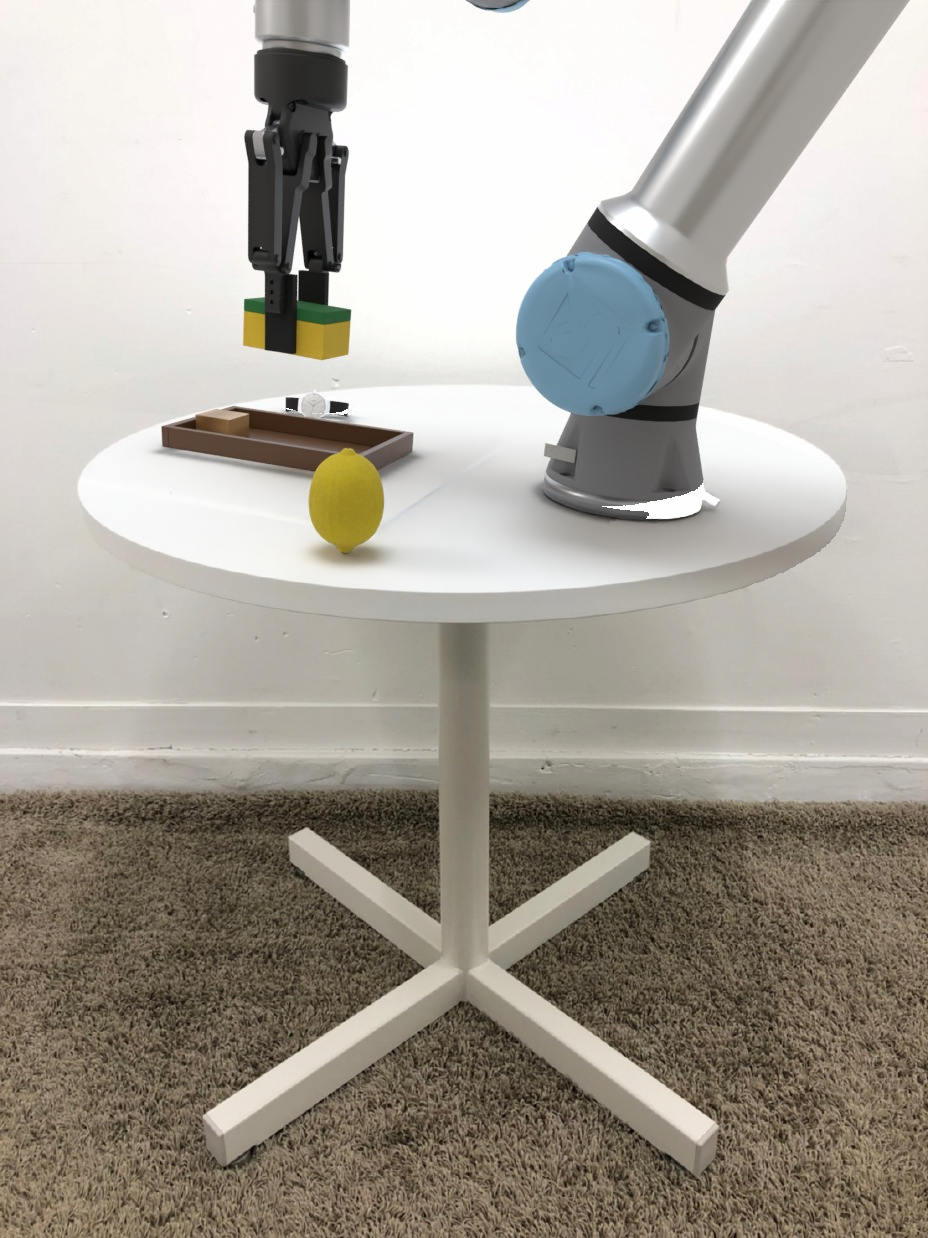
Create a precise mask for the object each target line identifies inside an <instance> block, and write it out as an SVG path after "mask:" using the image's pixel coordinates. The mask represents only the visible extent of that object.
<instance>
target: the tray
mask: <svg viewBox="0 0 928 1238" xmlns="http://www.w3.org/2000/svg"><path fill="white" fill-rule="evenodd" d="M220 409H221V410H227V411H234V412H241V413H247V414H249V437H248V438H246V437H239V436H233V435H227V434H220V433H214V432H208V431H201V430H196V418H195V416H192V417H189V418H186V419H182V420H178V421H174V422H172V423H168V424H165V425H161V447H162V448H168V449H174V450H179V451H180V450H181V451H187V452H193V453H198V454H204V455H205V454H206V455H211V456H216V457H217V456H218V457H223V458H229V459H235V460H242V461H247V462H248V461H249V462H255V463H261V464H266V465H273V466H278V467H285V468H290V469H297V470H303V471H309V472H313V473H315V471H316V469H317V468H318V466H319V465H320V464H321V463H322V462H323V461H324V460H325V459H327V458H328V457H330V456H331V455H334V454H336V453H340V452H341V451H342V450H343V449H344V448H351V449H353V450H354V451H355V453H357V454H359V455H361V456H363V457H365V458H366V459H367V460H369V461H370V462H371V463H372V464H373V465H374V467H375V468H376V470H377V471H378V470H380V469H382V468H385V467H386V466H388V465H390V464H392V463H393V462H396V461H398V460H399V459H401V458H403V457H405V456H407V455H409V454H411V453H412V452H413V447H414V432H413V431H406V430H401V429H400V430H399V429H393V428H387V427H380V426H374V425H373V426H372V425H366V424H358V423H352V422H346V421H338V420H332V419H325V418H312V417H305V416H304V415H299V414H291V413H286V412H277V411H272V410H264V409H258V408H251V407H244V406H237V405H231V406H228V407H224V408H220Z"/></svg>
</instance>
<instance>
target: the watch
mask: <svg viewBox="0 0 928 1238" xmlns="http://www.w3.org/2000/svg"><path fill="white" fill-rule="evenodd" d="M349 407H350V403H349V402H343V401H336V400H330V399H327V398H326V397H325V396H324V395H322V394H321V393H320V392H317V389H313V392H312V391H311V392H308V393H306V394H305V395H304V396H302V397H301V396H300V397H293V396H291V397H290V396H288V397H286V396H285V412H292V411H291V410H287V409H286V408H289V409H293V410H296V411H295V412H298V411H301V412H300V413H301V414H302V416H305V417H312V418H319V419H323V418H324V417H325V416H330V414H325V413H336V412H342V411H344V410H346V409H348V410H349ZM302 412H303V413H302ZM312 413H318V414H312ZM320 413H322V414H320ZM323 414H324V415H323ZM348 415H349V412H348V413H347V414H344V415H339V416H340V417H345V418H348Z"/></svg>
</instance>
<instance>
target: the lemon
mask: <svg viewBox="0 0 928 1238" xmlns="http://www.w3.org/2000/svg"><path fill="white" fill-rule="evenodd" d="M308 492H309V493H308V512H309V517H310V521H311V523H312V527H314V529H315V531H316V533H317V534H318V535H319V537H321V538H322V539H323V540H324V541H326V542H327V543H329V544H331V545H333V546H335V547H336V548H337V549H338V550H339V552H341V553H343V554H348V553H350V552H351V551H352V550H353V549H354V548H356V547H357V546H359V545H362V544H364V543H366V542H368V541H369V540H370V539H371V538H372V537H373V536H375V534H376V533H377V530H378V529H379V527H380V524H381V522H382V520H383V515H384V510H385V492H384V486H383V482H382V478H381V476H380V473H379V471H378V470H376V468H375V467H374V465H373V464H372V463H371V462H370V461H369V460H367V459H366V458H365V457H363V456H361V455H359V454H357V453H355V451H354V450H353V449H351V448H344V449H343V450H342V451H341V452H340V453H336V454H334V455H331V456H330V457H328V458H327V459H325V460H324V461H323V462H322V463H321V464H320V465H319V466H318V468H317V469H316V471H315V472H313V476H312V480H311V482H310V487H309V491H308Z"/></svg>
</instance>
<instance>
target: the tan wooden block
mask: <svg viewBox="0 0 928 1238" xmlns="http://www.w3.org/2000/svg"><path fill="white" fill-rule="evenodd" d="M221 409H222V408H220V409H219V408H214V409H211V410H207V411H203V412H201V413H197V414H195V416H194V417H195V418H196V430H201V431H208V432H214V433H220V434H227V435H233V436H239V437H246V438H248V437H249V414H247V413H241V412H234V411H227V410H221Z"/></svg>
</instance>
